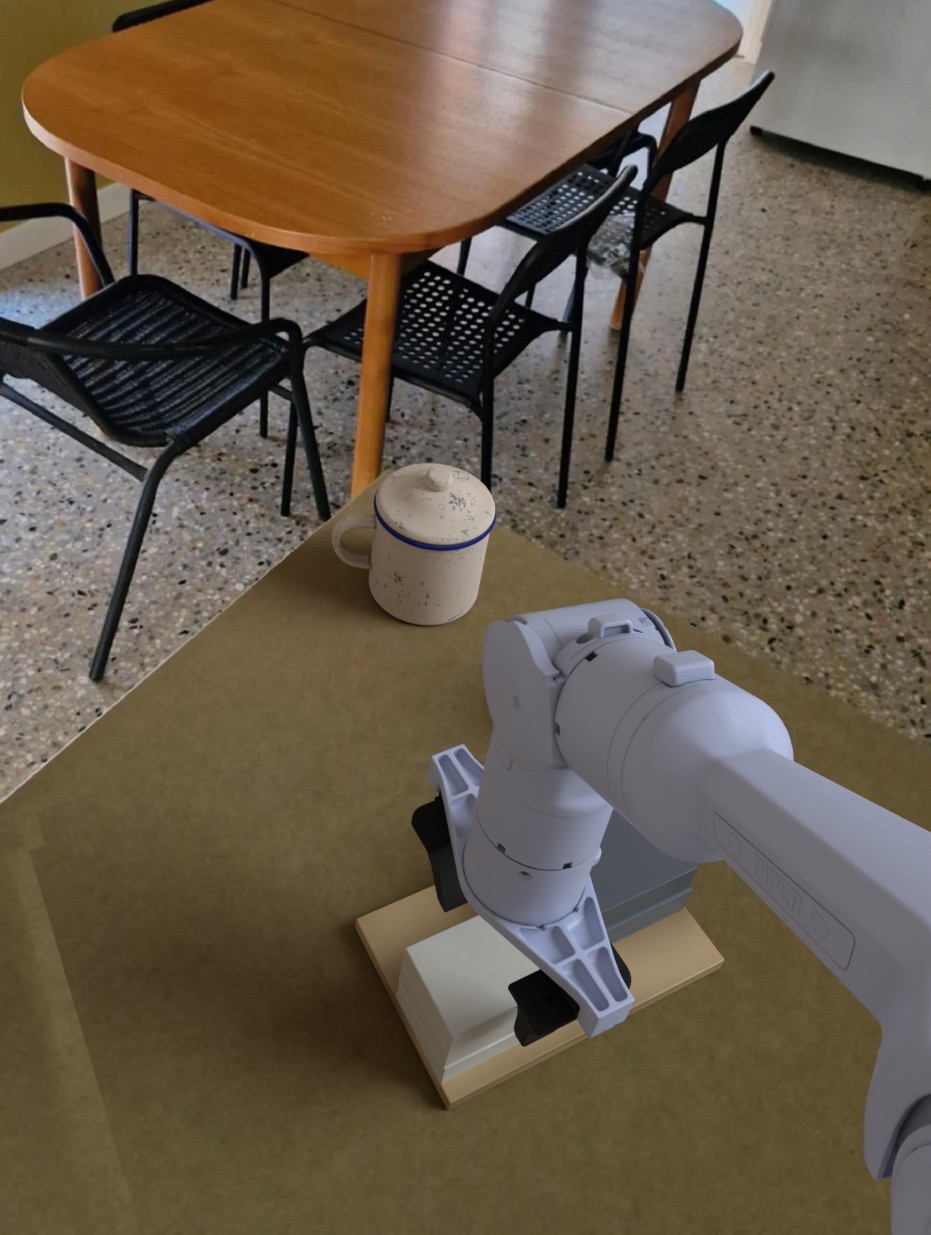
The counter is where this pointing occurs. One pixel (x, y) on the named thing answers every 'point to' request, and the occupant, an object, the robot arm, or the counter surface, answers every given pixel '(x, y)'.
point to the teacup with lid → (424, 542)
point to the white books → (434, 1048)
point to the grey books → (637, 880)
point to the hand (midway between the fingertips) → (494, 963)
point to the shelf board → (657, 970)
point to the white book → (466, 979)
